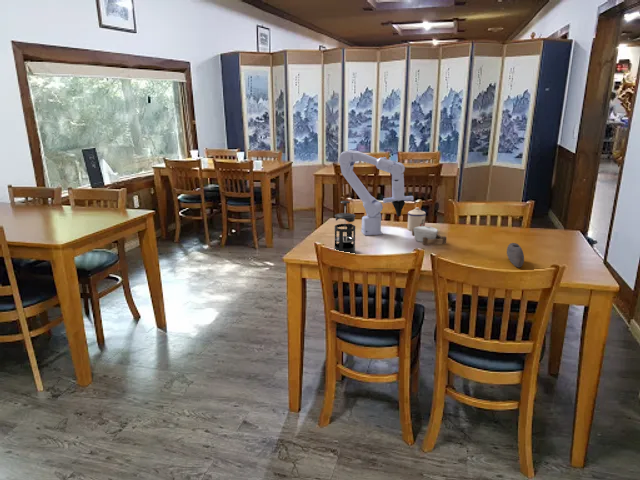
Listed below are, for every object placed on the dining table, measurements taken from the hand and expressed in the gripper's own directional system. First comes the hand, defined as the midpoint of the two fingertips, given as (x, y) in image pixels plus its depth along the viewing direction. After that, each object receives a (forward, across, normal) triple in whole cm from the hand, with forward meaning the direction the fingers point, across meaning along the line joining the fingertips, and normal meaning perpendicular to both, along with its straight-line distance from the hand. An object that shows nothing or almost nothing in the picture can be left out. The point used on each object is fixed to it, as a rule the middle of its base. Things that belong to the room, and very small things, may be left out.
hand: (398, 216), depth 215 cm
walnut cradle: (+11, +12, -8) cm, 18 cm away
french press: (+9, -31, -22) cm, 39 cm away
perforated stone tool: (+14, +35, -45) cm, 59 cm away
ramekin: (+11, +10, -8) cm, 17 cm away
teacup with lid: (+10, +12, +11) cm, 20 cm away
